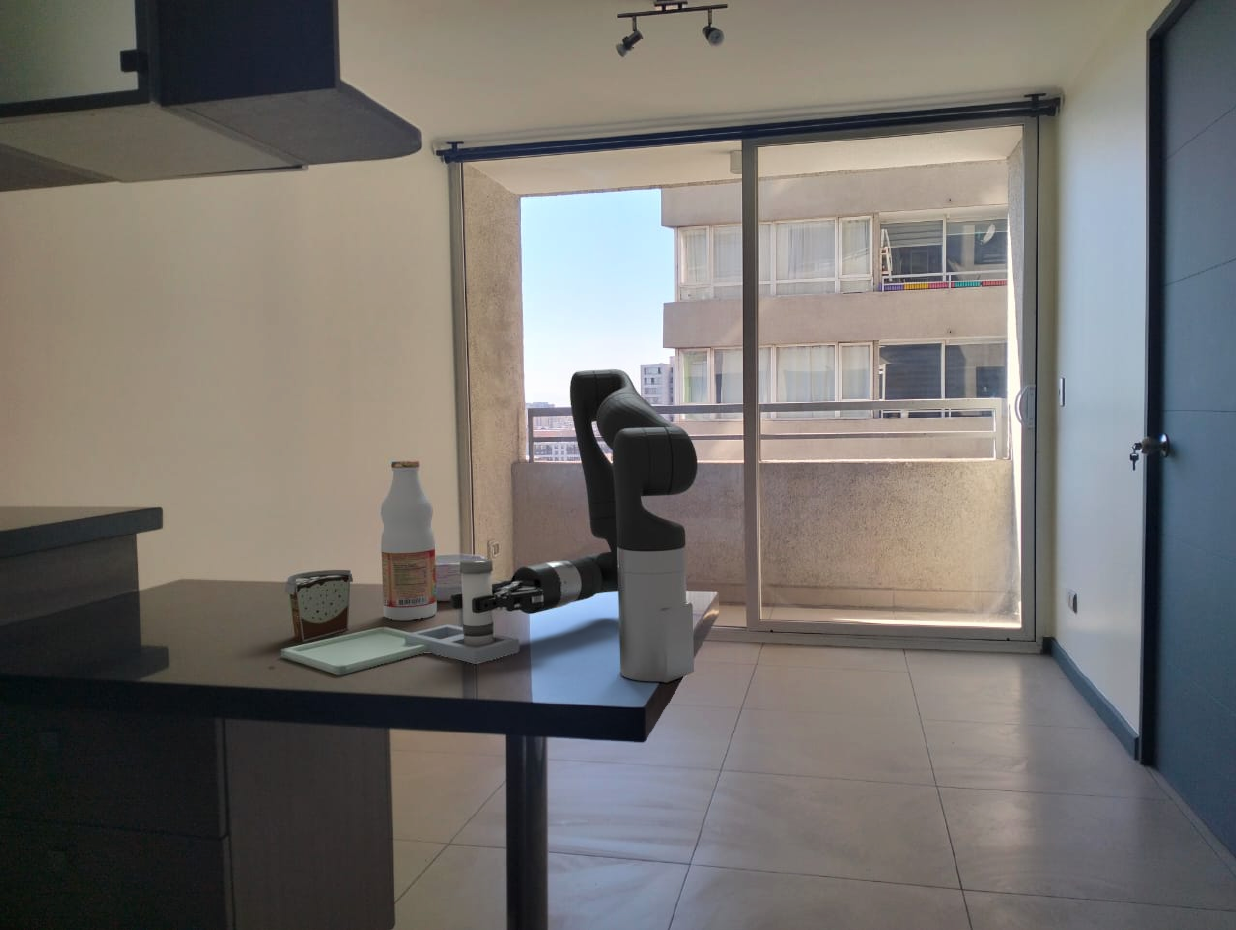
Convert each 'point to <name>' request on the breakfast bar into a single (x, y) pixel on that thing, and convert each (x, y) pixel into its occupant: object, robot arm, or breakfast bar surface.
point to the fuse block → (461, 644)
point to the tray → (354, 651)
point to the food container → (319, 602)
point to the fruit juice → (408, 547)
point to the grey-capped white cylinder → (475, 585)
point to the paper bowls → (450, 574)
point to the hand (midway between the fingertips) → (463, 604)
